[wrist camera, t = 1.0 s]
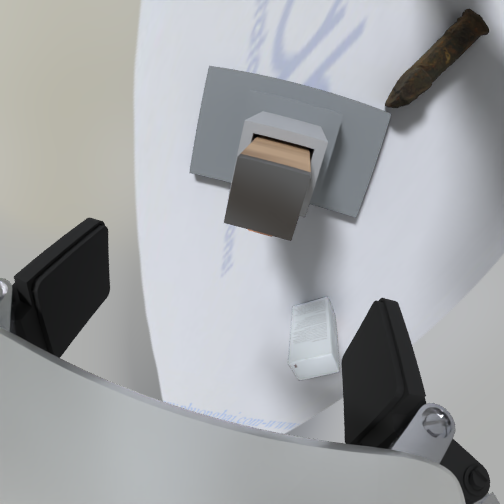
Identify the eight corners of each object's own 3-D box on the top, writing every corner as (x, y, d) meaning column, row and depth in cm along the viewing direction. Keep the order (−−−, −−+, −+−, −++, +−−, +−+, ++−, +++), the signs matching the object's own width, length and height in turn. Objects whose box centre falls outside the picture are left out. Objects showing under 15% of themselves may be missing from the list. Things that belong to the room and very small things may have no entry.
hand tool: (460, 10, 24) (476, 4, 20) (480, 34, 25) (497, 31, 21) (369, 88, 32) (377, 88, 28) (390, 113, 33) (401, 116, 29)
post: (270, 123, 31) (236, 155, 16) (308, 133, 31) (311, 175, 16) (261, 159, 33) (223, 223, 18) (298, 169, 33) (291, 241, 18)
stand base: (212, 66, 34) (155, 56, 20) (388, 112, 33) (439, 130, 19) (193, 169, 41) (136, 216, 27) (354, 213, 40) (376, 282, 26)
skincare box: (301, 324, 51) (297, 382, 40) (292, 305, 49) (286, 362, 39) (336, 315, 49) (340, 372, 38) (329, 294, 47) (332, 352, 37)
